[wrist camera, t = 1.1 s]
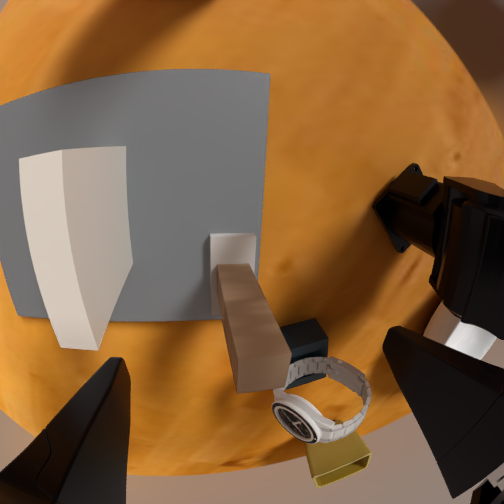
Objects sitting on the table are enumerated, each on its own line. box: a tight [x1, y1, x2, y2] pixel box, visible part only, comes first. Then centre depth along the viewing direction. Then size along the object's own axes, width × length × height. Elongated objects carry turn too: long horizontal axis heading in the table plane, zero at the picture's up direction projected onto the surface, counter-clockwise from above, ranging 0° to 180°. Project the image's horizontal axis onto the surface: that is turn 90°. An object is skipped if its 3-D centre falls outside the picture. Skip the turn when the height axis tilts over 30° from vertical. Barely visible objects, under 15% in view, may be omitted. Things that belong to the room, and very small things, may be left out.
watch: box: [272, 318, 371, 444], centre depth 21 cm, size 6×8×11 cm
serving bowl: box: [423, 301, 497, 360], centre depth 28 cm, size 21×21×7 cm
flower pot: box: [305, 420, 372, 488], centre depth 31 cm, size 9×9×9 cm
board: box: [0, 69, 270, 321], centre depth 16 cm, size 22×18×2 cm
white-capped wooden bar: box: [210, 233, 292, 394], centre depth 15 cm, size 3×6×10 cm, turn 177°
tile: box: [19, 146, 133, 350], centre depth 12 cm, size 2×8×9 cm, turn 178°
